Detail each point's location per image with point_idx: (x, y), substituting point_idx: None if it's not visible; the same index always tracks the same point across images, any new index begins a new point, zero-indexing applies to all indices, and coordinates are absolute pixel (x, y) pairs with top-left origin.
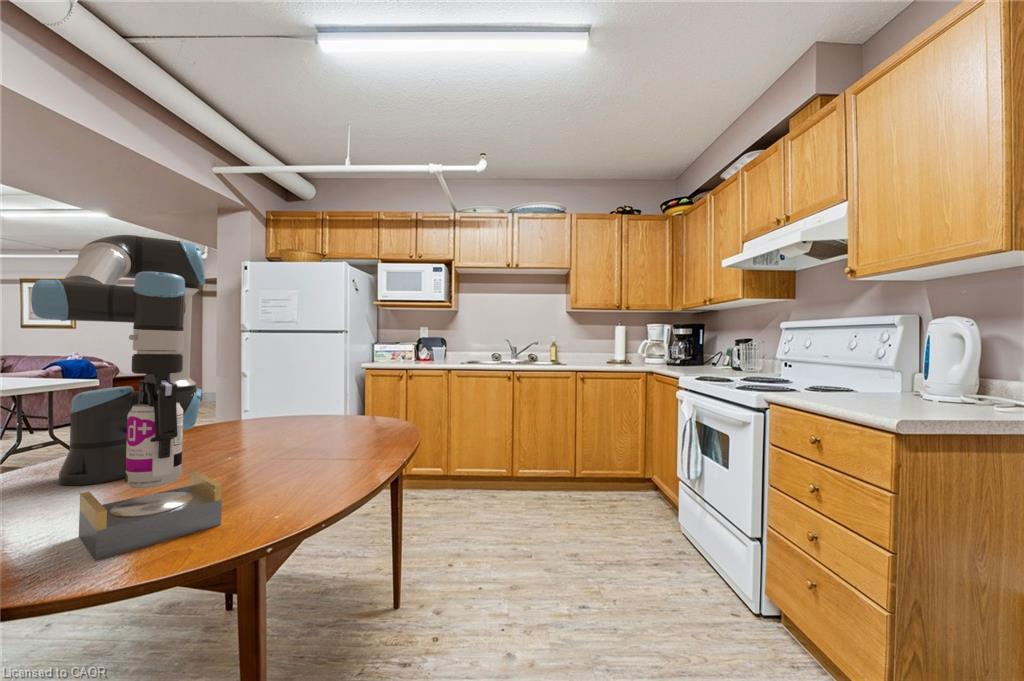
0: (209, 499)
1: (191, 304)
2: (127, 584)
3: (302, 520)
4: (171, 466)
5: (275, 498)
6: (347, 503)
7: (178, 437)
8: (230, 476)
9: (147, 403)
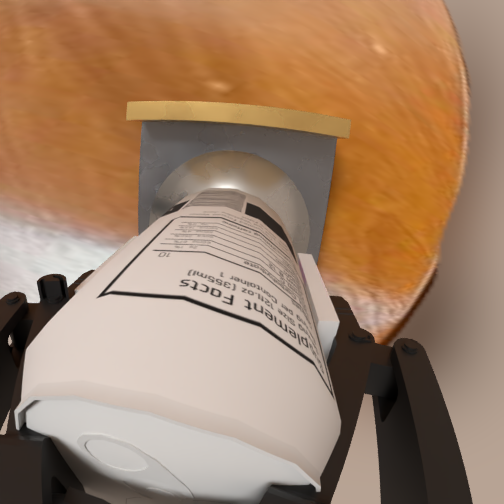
0: (312, 138)
1: None
2: (406, 304)
3: (432, 47)
4: (314, 264)
5: None
6: None
7: (296, 279)
8: (37, 15)
9: (78, 487)
